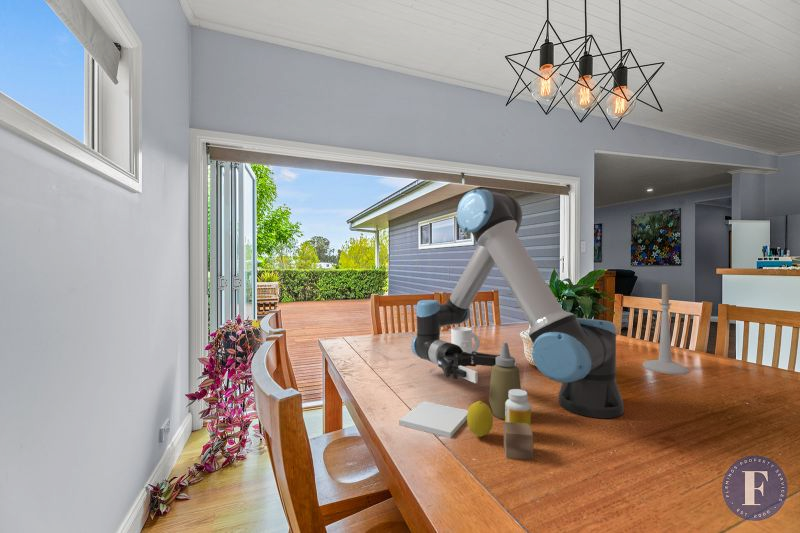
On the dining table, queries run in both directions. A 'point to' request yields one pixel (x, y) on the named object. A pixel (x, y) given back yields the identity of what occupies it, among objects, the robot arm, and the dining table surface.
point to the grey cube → (518, 441)
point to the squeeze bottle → (503, 381)
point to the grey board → (435, 419)
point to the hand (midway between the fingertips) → (497, 373)
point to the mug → (464, 339)
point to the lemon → (479, 418)
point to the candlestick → (665, 343)
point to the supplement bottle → (518, 407)
